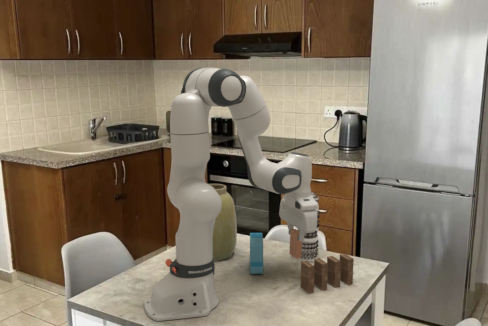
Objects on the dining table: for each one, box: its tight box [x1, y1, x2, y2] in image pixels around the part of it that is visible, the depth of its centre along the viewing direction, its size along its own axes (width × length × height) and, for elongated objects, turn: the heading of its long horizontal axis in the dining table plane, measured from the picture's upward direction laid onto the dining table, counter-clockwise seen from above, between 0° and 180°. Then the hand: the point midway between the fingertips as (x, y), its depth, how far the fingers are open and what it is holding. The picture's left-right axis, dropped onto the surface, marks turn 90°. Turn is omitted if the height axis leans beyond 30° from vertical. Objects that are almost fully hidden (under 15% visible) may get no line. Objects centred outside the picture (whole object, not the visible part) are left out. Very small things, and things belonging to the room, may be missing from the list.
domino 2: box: [300, 261, 315, 294], centre depth 159 cm, size 2×5×9 cm, turn 24°
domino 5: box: [339, 253, 355, 286], centre depth 165 cm, size 2×5×9 cm, turn 24°
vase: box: [208, 183, 238, 262], centre depth 188 cm, size 17×17×27 cm
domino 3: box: [313, 257, 328, 291], centre depth 161 cm, size 2×5×9 cm, turn 23°
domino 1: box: [288, 228, 302, 260], centre depth 172 cm, size 2×5×9 cm, turn 23°
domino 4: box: [326, 255, 341, 289], centre depth 163 cm, size 2×5×9 cm, turn 24°
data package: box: [249, 232, 264, 275], centre depth 176 cm, size 12×4×12 cm, turn 0°
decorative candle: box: [295, 191, 321, 263], centre depth 185 cm, size 9×9×25 cm
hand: (296, 237), depth 172 cm, fingers closed on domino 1, 5 cm apart
